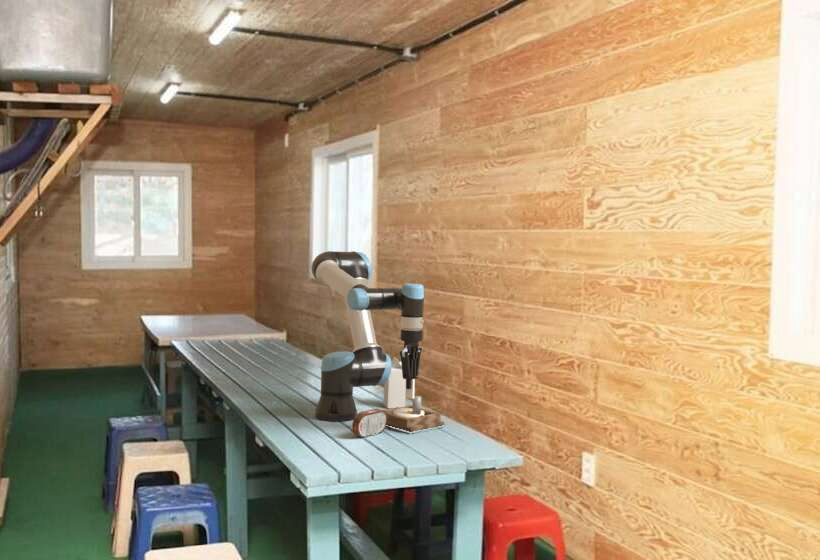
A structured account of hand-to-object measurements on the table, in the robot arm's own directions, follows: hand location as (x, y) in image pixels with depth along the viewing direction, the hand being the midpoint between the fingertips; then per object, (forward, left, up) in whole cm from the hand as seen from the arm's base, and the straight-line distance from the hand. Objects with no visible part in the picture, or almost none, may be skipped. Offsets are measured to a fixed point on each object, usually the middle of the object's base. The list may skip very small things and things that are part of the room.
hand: (409, 397), depth 260 cm
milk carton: (+21, +32, -12) cm, 40 cm away
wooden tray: (+6, +7, -12) cm, 15 cm away
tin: (-14, +4, -12) cm, 19 cm away
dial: (+6, +7, -9) cm, 13 cm away
